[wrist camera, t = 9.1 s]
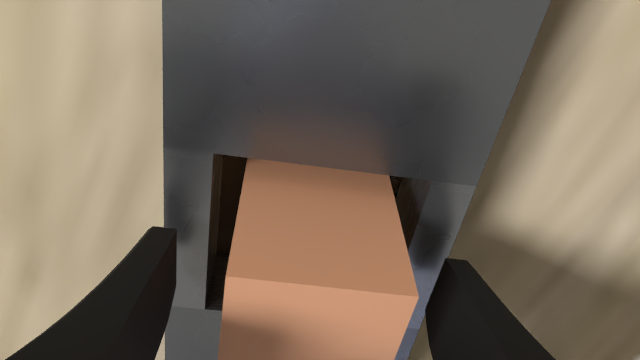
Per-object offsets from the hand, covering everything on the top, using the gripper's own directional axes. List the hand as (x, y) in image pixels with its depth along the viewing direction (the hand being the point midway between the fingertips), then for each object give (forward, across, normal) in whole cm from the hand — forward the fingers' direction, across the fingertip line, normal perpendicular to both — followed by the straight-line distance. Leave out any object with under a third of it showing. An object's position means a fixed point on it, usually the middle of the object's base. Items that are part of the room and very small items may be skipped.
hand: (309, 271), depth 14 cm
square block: (+3, 0, 0) cm, 3 cm away
